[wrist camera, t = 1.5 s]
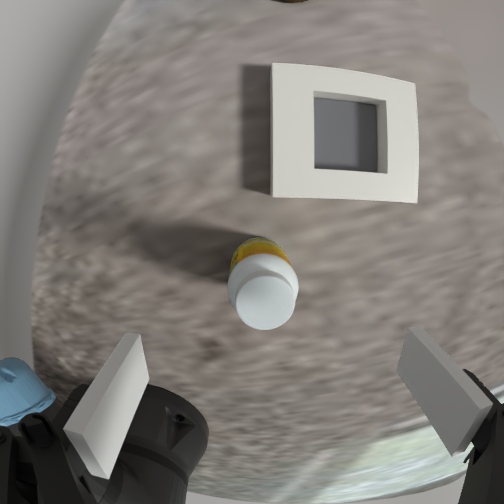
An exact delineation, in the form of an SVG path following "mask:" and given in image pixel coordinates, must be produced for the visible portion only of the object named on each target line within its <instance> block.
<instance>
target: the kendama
mask: <svg viewBox="0 0 504 504" xmlns="http://www.w3.org/2000/svg"><path fill="white" fill-rule="evenodd" d="M284 1H288V2H304V1H307V0H284Z"/></svg>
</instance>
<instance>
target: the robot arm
mask: <svg viewBox="0 0 504 504" xmlns="http://www.w3.org/2000/svg"><path fill="white" fill-rule="evenodd" d="M396 371H397V373H398V374H399V375H400V377H401V378H402V380H403V381H404V383H405V384H406V386H407V387H408V389H409V390H410V392H411V393H412V395H413V396H414V398H415V399H416V401H417V402H418V404H419V406H420V407H421V409H422V410H423V412H424V413H425V415H426V416H427V418H428V419H429V421H430V423H431V424H432V426H433V427H434V429H435V431H436V432H437V434H438V435H439V437H440V439H441V440H442V442H443V443H444V445H445V447H446V448H447V450H448V452H449V453H450V455H451V456H454V455H457V454H459V453H461V452H463V451H465V450H466V448H467V447H468V445H469V444H470V442H472V443H473V445H474V447H473V449H472V450H471V451H470V453H469V454H468V456H467V457H466V458H465V460H464V462H463V463H466V462H467V460H468V459H469V458H470V459H469V463H468V468H467V473H466V477H465V481H464V485H463V489H462V492H461V496H460V499H459V503H458V504H504V403H503V404H501V403H500V402H499V401H498V400H497V399H496V398H495V397H494V395H493V394H492V393H491V392H490V391H489V390H488V389H487V388H486V387H484V385H483V383H482V382H481V381H480V382H479V379H478V378H477V377H476V376H475V375H474V374H473V373H471V372H470V371H468V370H466V369H461V368H460V367H459V365H458V364H457V363H456V362H455V361H454V360H453V359H452V358H451V357H450V356H449V355H448V354H447V353H446V352H445V351H444V350H443V349H442V348H441V347H440V346H439V345H438V344H437V343H436V342H435V341H434V340H433V339H432V338H431V337H430V336H429V335H428V334H427V333H426V332H425V331H424V330H423V329H422V328H421V327H420V326H416V327H408V329H407V334H406V338H405V342H404V345H403V349H402V353H401V357H400V360H399V364H398V367H397V370H396ZM148 381H149V375H148V370H147V366H146V361H145V357H144V352H143V347H142V342H141V336H140V334H136V333H125V334H124V336H123V337H122V339H121V340H120V342H119V343H118V344H117V346H116V347H115V349H114V350H113V352H112V353H111V355H110V356H109V358H108V359H107V361H106V362H105V364H104V365H103V367H102V368H101V370H100V371H99V373H98V374H97V376H96V377H95V379H94V380H93V382H92V383H91V385H86V384H81V385H80V386H78V387H77V388H76V389H74V390H73V391H72V393H71V394H70V396H69V397H68V400H66V401H65V403H64V404H62V403H61V402H60V401H59V400H58V399H57V397H56V395H55V393H54V392H53V390H52V389H50V388H49V387H47V386H46V385H45V384H44V383H43V382H42V381H41V380H40V378H39V377H38V376H37V375H36V374H35V373H34V371H33V370H32V369H31V368H30V367H29V366H28V365H27V364H26V363H25V362H24V361H22V360H20V359H18V358H6V359H3V360H1V361H0V504H185V500H186V493H187V485H188V479H189V477H190V475H191V474H192V472H193V470H194V469H195V467H196V466H197V464H198V462H199V461H200V459H201V458H202V456H203V454H204V453H205V451H206V448H207V444H208V435H209V429H208V425H207V423H206V420H205V419H204V417H203V416H202V414H201V413H200V412H199V411H198V410H197V409H196V408H195V407H194V406H193V405H192V404H190V403H189V402H188V401H186V400H185V399H183V398H181V397H179V396H178V395H176V394H174V393H171V392H169V391H166V390H164V389H161V388H157V387H153V386H149V385H147V383H148Z"/></svg>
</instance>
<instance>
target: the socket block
mask: <svg viewBox="0 0 504 504" xmlns="http://www.w3.org/2000/svg"><path fill="white" fill-rule="evenodd" d="M318 98H320V99H318ZM329 99H331V100H329ZM338 100H340V101H338ZM347 101H348V102H347ZM354 102H356V103H354ZM362 103H363V104H362ZM368 104H369V105H368ZM418 167H419V146H418V117H417V101H416V90H415V83H411V82H407V81H403V80H399V79H394V78H390V77H385V76H380V75H375V74H370V73H364V72H358V71H352V70H346V69H339V68H331V67H322V66H313V65H301V64H287V63H272V66H271V70H270V195H271V196H272V197H295V198H333V199H358V200H377V201H394V202H408V203H417V197H418ZM314 168H317V169H314ZM330 169H336V170H330ZM346 170H351V171H346ZM360 171H365V172H360ZM372 172H376V173H372Z"/></svg>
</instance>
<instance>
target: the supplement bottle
mask: <svg viewBox="0 0 504 504" xmlns="http://www.w3.org/2000/svg"><path fill="white" fill-rule="evenodd" d="M227 289H228V296H229V299H230V301H231V303H232V305H233V307H234V308H235V309H236V311H237V314H238V315H239V317H240V318H241V320H242V321H243V322H244V323H245V324H247V325H248V326H250V327H252V328H255V329H260V330H269V329H274V328H277V327H279V326H281V325H282V324H284V323H285V322H286V321H287V320H288V319H289V318H290V316H291V315H292V313H293V310H294V307H295V300H296V298H297V294H298V280H297V277H296V274H295V272H294V270H293V268H292V266H291V264H290V262H289V260H288V258H287V256H286V254H285V253H284V251H283V249H282V248H281V247H280V246H279V245H278V244H277V243H275V242H274V241H272V240H270V239H267V238H252V239H249V240H247V241H245V242H244V243H242V244H241V245H240V246H239V247H238V248H237V249H236V251H235V252H234V254H233V257H232V261H231V267H230V272H229V279H228V286H227Z"/></svg>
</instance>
